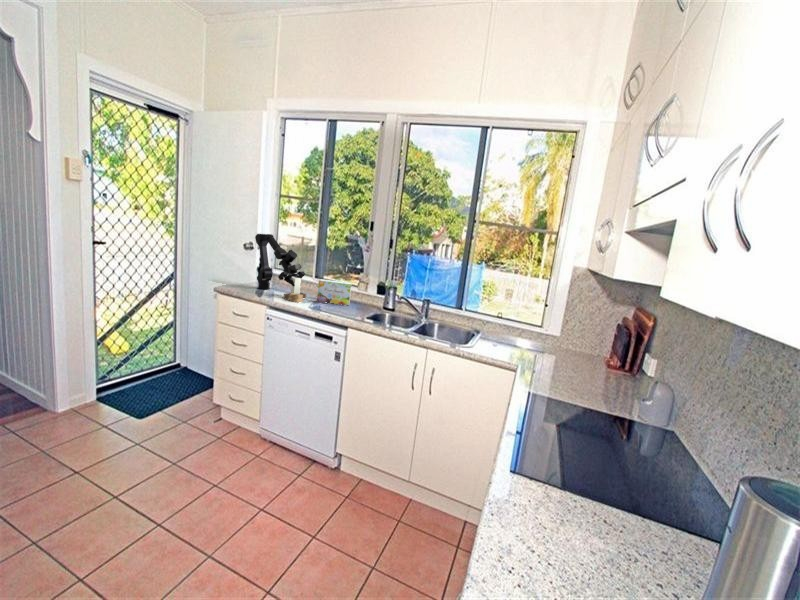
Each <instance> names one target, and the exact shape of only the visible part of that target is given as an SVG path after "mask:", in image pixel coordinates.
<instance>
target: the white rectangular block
mask: <svg viewBox="0 0 800 600" xmlns="http://www.w3.org/2000/svg"><path fill="white" fill-rule="evenodd" d="M292 280H293V282H294V284H295V286H292V285H291V288H290V293H291V294H292V293H296V294H300V292H301V286H302V283H301V282H302V278H295V277H292ZM300 285H301V286H300Z"/></svg>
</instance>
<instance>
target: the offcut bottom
mask: <svg viewBox="0 0 800 600" xmlns="http://www.w3.org/2000/svg"><path fill="white" fill-rule="evenodd" d="M289 300H290V301H289ZM289 300H288V301H289V302H292V301H293V302H292V303H296V302H297V304H300V303H299V302H301V303H304V299H299V300H298V299H294V298H289Z"/></svg>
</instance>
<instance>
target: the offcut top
mask: <svg viewBox="0 0 800 600" xmlns="http://www.w3.org/2000/svg"><path fill="white" fill-rule="evenodd" d="M289 298H294V299H298V300H299V299H303V295H301V294H296V293H292V294H290V297H289ZM303 300H304V299H303Z"/></svg>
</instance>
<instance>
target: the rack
mask: <svg viewBox="0 0 800 600" xmlns="http://www.w3.org/2000/svg"><path fill="white" fill-rule="evenodd" d="M290 294H291V292H289V293H284V294H283V299H285V298H286V299H285V300H288V299H289V297H290ZM300 294H301V295H303V298H305V299H307V293H303V292H301V291H300Z"/></svg>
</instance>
